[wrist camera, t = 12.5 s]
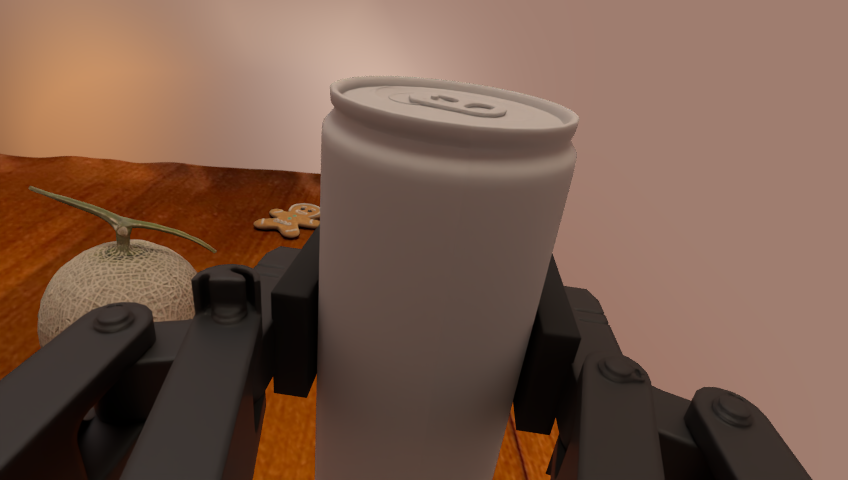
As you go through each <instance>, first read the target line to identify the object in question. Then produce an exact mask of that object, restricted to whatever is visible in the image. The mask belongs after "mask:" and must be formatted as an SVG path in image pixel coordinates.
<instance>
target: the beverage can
mask: <svg viewBox="0 0 848 480" xmlns="http://www.w3.org/2000/svg"><path fill="white" fill-rule="evenodd" d="M330 95H331V102H332V104H333V105H334V109H333V110H332V111H331V112H330V113H329V114H328V115H327V116H326V117H325V119H324V121H323V125H322V145H321V196H320V247H319V299H318V350H317V402H316V453H315V480H492V478H493V474H494V470H495V466H496V463H497V459H498V455H499V451H500V448H501V444H502V440H503V436H504V433H505V429H506V425H507V421H508V417H509V414H510V410H511V406H512V402H513V399H514V395H515V391H516V387H517V384H518V380H519V376H520V372H521V369H522V365H523V361H524V357H525V353H526V350H527V346H528V342H529V338H530V335H531V331H532V327H533V323H534V320H535V316H536V312H537V308H538V305H539V301H540V297H541V293H542V289H543V286H544V282H545V278H546V274H547V271H548V267H549V263H550V259H551V256H552V252H553V248H554V244H555V240H556V237H557V233H558V229H559V225H560V222H561V218H562V214H563V210H564V207H565V203H566V199H567V195H568V192H569V187H570V184H571V180H572V177H573V172H574V167H575V163H576V158H577V154H576V150H575V148H574V146H573V144H572V142H571V138H572V137H573V136H574V134H575V132H576V129H577V126H578V122H579V117H578V116H577V115H576V114H575V113H574V112H573V111H572V110H570V109H567V108H565V107H563V106H561V105H559V104H556V103H553V102H550V101H547V100H544V99H541V98H537V97H534V96H530V95H526V94H522V93H518V92H514V91H509V90H503V89H499V88H494V87H488V86H482V85H476V84H470V83H463V82H455V81H447V80H438V79H428V78H417V77H399V76H398V77H397V76H366V77H352V78H347V79H342V80H338V81H337V82H335V83H333V84H331V86H330Z"/></svg>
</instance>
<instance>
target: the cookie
mask: <svg viewBox="0 0 848 480" xmlns="http://www.w3.org/2000/svg"><path fill="white" fill-rule="evenodd" d="M269 214H270V215H271V216H272V217H274V218H271V219H260V220H257V221H255V222H254V227H256V228H258V229H264V230H266V229H276V230H279V231H280V233H281V235H282V236H284V237H287V238H295V237H297V236H298V235H299V229H298V226H300V227H306V228H313V229H316V228H317V227H318V225H319V224H320V221H318V219H320V207H318V206H315V205H312V204H295V205H293V206H291V207H290V208H289V210H288V212H285V211H283V210H281V209H272V210H271V211H270V212H269Z"/></svg>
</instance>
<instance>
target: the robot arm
mask: <svg viewBox="0 0 848 480" xmlns="http://www.w3.org/2000/svg"><path fill="white" fill-rule="evenodd" d="M319 247H320V224H319V225H318V227H317V228H316V230H315V231H314V232H313V234H312V235H311V237H310V238H309V239H308V241H307V242H306V244H305V245H304V246H303V248H302V249H296V248H289V247H282V246H280V247H278V248H276V249H274V250H272V251H270V252H268V253H267V254H265V256H264V257H263V258H262V259H261V260H260V261H259V263H258V265H257V266H255V267H254V269H253V268H250V267H247V266H245V265H236V264H227V265H218V266H214V267H210V268H207V269H205V270H203V271H201V272H199V273H197V274H196V275H195V276H194V277H193V278H192V279H191V284H192V292H193V301H194V309H195V315H194V317H193V319H188V320H179V321H161V322H154V320H153V314H152V311H151V310H150V309H149V308H148V307H147V306H146V305H143V304H139V303H136V302H118V303H112V304H107V305H105V306H102V307H99V308H96V309H93V310H91V311H90V312H88V313H86V314H85V315H83V316H82V317H80V318H79V319H78V320H76V321H75V322H74V323H73V324H71V325H70V326H69V327H68V328H66V329H65V330H64V331H62V332H61V333H60V334H59V335H57V336H56V337H55V338H54V339H52V340H51V341H50V342H49V343H47V344H46V345H45V346H43V347H42V348H41V349H40V350H38V351H37V352H36V353H35V354H33V355H32V356H31V357H29V358H28V359H27V360H26V361H24V362H23V363H22V364H21V365H19V366H18V367H17V368H16V369H14V370H13V371H12V372H10V373H9V374H8V375H7V376H5V377H4V378H3V379H2V380H0V480H252V479H253V474H254V468H255V463H256V457H257V452H258V446H259V441H260V435H261V430H262V424H263V419H264V413H265V408H266V397H265V390H266V388H267V386H268V384H269V382H270V381H271V379H272V377H274V393H279V394H285V395H292V396H298V397H305V398H307V396H308V393H309V391H310V388H311V386H312V384H313V381H314V379H315V377H316V374H317V350H318V299H319ZM513 405H514V414H515V423H516V430H520V431H526V432H533V433H539V434H546V435H550V433H551V430H552V427H553V424H554V421H555V418H556V420H557V425H558V429H559V436H558V439H557V442H556V445H555V448H554V451H553V454H552V457H551V460H550V462H549V465H548V468H547V471H546V474H548V475H551V480H812V479H811V477H810V476H809V475H808V473H807V472H806V470H805V469H804V468H803V466H802V465H801V463H800V462H799V461H798V459H797V458H796V457H795V455H794V454H793V452H792V451H791V450H790V449H789V447H788V446H787V444H786V443H785V442H784V440H783V439H782V437H781V436H780V435H779V433H778V432H777V431H776V429H775V428H774V426H773V425H772V424H771V422H770V421H769V420H768V418H767V417H766V416H765V415H764V414H763V413H762V412H761V411H760V410H759V409H758V408H757V407H756V406H755V405H753V404H752V403H751V402H749V401H748V400H746V399H745V398H743V397H741V396H740V395H737V394H735V393H733V392H730V391H727V390H724V389H720V388H716V387H703V388H701V389H699V390H697V391H696V393H695V395H694V397H693V399H692V401H690V400H687V399H684V398H682V397H679V396H676V395H673V394H670V393H668V392H665V391H662V390H660V389H658V388H656V387H654V386H652V385H651V381H650V379H649V376H648V374H647V372H646V371H645V370H644V369H643V368H642V367H641V366H640V365H639V364H638V363H636V362H635V361H633V360H632V359H630V358H629V357H626V356H624V355H623V354H622V352H621V350H620V347H619V345H618V343H617V341H616V339H615V336H614V334H613V332H612V330H611V327H610V325H608V321H607V318H606V316H605V315H604V312H603V310H602V307H601V305H600V303H599V301H598V300H597V299H596V298H595V297H594V296H593V295H592V294H591V293H590V292H589V291H588V290H587V289H581V288H574V287H567V286H563V283H562V280H561V277H560V275H559V272H558V268H557V266H556V263H555V260H554V257H553V254H552V256H551V259H550V263H549V267H548V271H547V274H546V278H545V282H544V286H543V289H542V293H541V297H540V301H539V305H538V308H537V312H536V316H535V320H534V323H533V327H532V331H531V335H530V338H529V342H528V346H527V350H526V353H525V357H524V361H523V365H522V369H521V372H520V376H519V380H518V384H517V387H516V391H515V395H514V399H513Z"/></svg>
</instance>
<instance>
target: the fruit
mask: <svg viewBox="0 0 848 480" xmlns="http://www.w3.org/2000/svg"><path fill="white" fill-rule="evenodd" d="M29 189H30V190H31V191H34V192H37V193H40V194H42V195H45V196H47V197H50V198H52V199H55V200H57V201H60V202H62V203H65V204H67V205H70V206H73V207H76V208H78V209H81V210H84V211H86V212H89V213H91V214H94V215H96V216H98V217H100V218H102V219H103V220H105V221H107V222H108V223H109V224H110V225H111V226H112V227H113V228H114V229H115V231H116V240H117V241H114V242H109V243H104V244H101V245H98V246H96V247H93V248H91V249H89V250H86V251H84V252H82V253H81V254H79V255H78V256H76V257H74V258H73V259H72V260H70V261H69V262H67V263H66V264H65V265H64V266H62V267H61V268H60V269H59V270H58V271H57V272H56V274H55V275H54V276H53V278H52V279H51V281H50V283H49V284H48V286H47V288H46V290H45V293H44V295H43V297H42V300H41V304H40V310H39V313H38V336H39V342H40V346H41V348H42V347H43V346H45V345H46V344H47V343H49V342H50V341H51V340H52V339H54V338H55V337H56V336H57V335H59V334H60V333H61V332H62V331H64V330H65V329H66V328H68V327H69V326H70V325H71V324H73V323H74V322H75V321H76V320H78V319H79V318H80V317H82V316H83V315H85V314H86V313H88V312H90V311H91V310H93V309H96V308H99V307H102V306H105V305H107V304H112V303H118V302H136V303H139V304H143V305H146V306H147V307H148V308H149V309H150V310H151V311H152V314H153V320H154V322H161V321H179V320H188V319H193V317H194V315H195V309H194V301H193V292H192V284H191V279H192V278H193V277H194V276H195V275H196V274H197V272H196V271H195V270H194V268H193V267H192V266H191V264H190V263H189V262H188V261H186V260H185V259H184V258H183V257H181V256H180V255H179V254H177V253H176V252H174V251H173V250H171V249H169V248H167V247H164V246H161V245H157V244H154V243H151V242H148V241H144V240H130V234H131V230H132V228H146V229H152V230H158V231H162V232H166V233H170V234H173V235H176V236H179V237H183V238H186V239H189V240H191V241H194V242H196V243H198V244H200V245H201V246H203V247H205V248H206V249H208V250H210V251H212V252H213V253H216V252H217V251H216V250H215V249H213V248H212V247H211V246H209V245H208V244H206V243H205V242H203V241H202V240H200V239H198V238H196V237H193V236H191V235H189V234H187V233H185V232H182V231H179V230H175V229H172V228H168V227H165V226H161V225H158V224H154V223H149V222H144V221H137V220H133V219H129V218H126V217H121V216H118V215H116V214H114V213H111V212H109V211H107V210H105V209H102V208H100V207H97V206H94V205H90V204H87V203H84V202H81V201H78V200H74V199H71V198H68V197H64V196H61V195H57V194H53V193H50V192H47V191H44V190H41V189H38V188H35V187H32V186H29Z"/></svg>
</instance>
